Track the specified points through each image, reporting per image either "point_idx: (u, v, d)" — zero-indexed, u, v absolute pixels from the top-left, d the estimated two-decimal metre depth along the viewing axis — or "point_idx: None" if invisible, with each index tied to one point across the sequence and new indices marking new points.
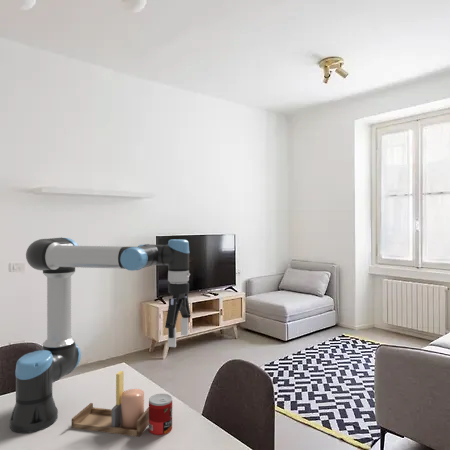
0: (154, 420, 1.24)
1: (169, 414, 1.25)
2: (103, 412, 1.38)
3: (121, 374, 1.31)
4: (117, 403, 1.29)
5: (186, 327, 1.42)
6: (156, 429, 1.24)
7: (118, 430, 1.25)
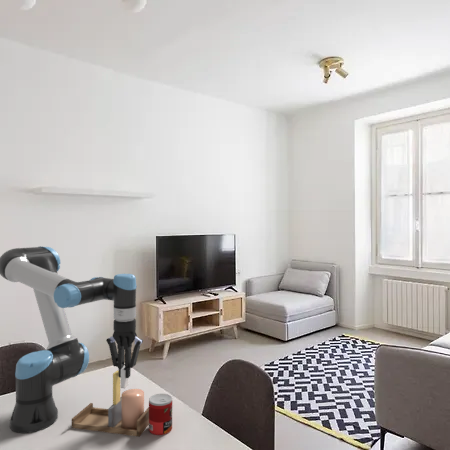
0: (154, 420, 1.24)
1: (169, 414, 1.25)
2: (103, 412, 1.38)
3: None
4: (114, 403, 1.30)
5: None
6: (156, 429, 1.24)
7: (118, 430, 1.25)
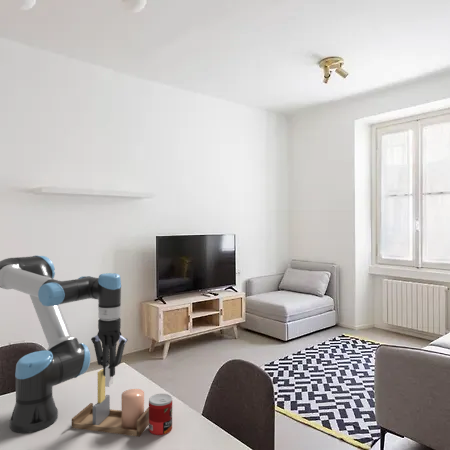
0: (154, 420, 1.24)
1: (169, 414, 1.25)
2: None
3: None
4: (98, 401, 1.31)
5: None
6: (156, 429, 1.24)
7: (118, 430, 1.25)
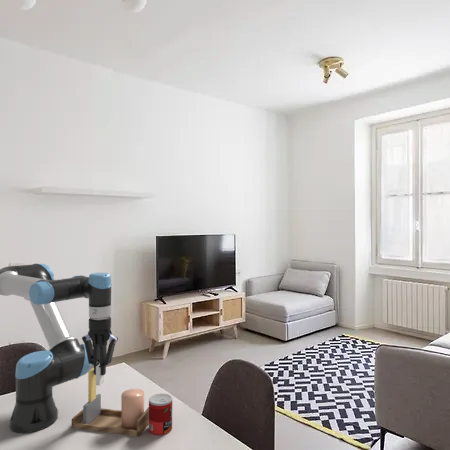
0: (154, 420, 1.24)
1: (169, 414, 1.25)
2: (103, 412, 1.38)
3: (93, 371, 1.33)
4: (89, 400, 1.32)
5: None
6: (156, 429, 1.24)
7: (118, 430, 1.25)
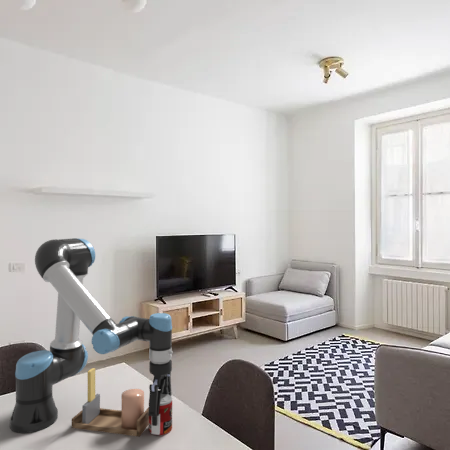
0: None
1: (169, 414, 1.26)
2: (103, 412, 1.38)
3: (93, 371, 1.33)
4: (88, 400, 1.32)
5: None
6: None
7: (118, 430, 1.25)
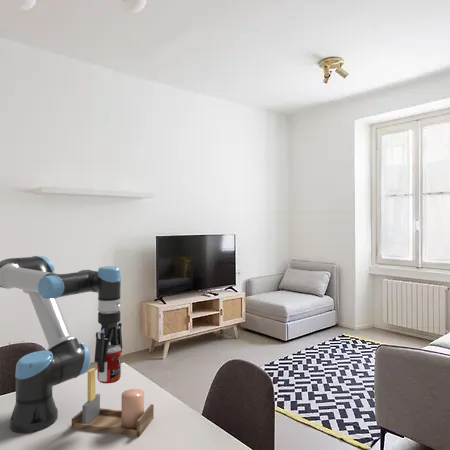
0: None
1: (117, 362, 1.29)
2: (103, 412, 1.38)
3: (93, 371, 1.33)
4: (88, 400, 1.32)
5: None
6: None
7: (118, 430, 1.25)
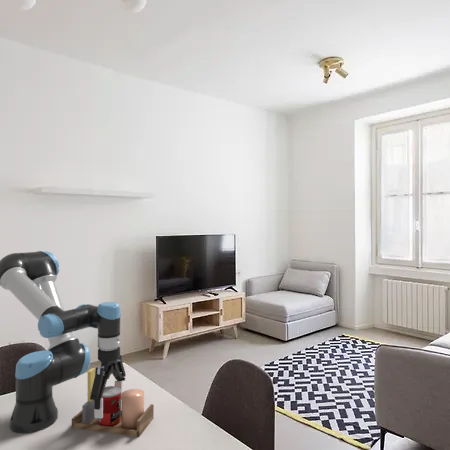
0: None
1: (117, 405, 1.30)
2: None
3: (93, 371, 1.33)
4: (88, 400, 1.32)
5: None
6: (103, 420, 1.28)
7: (118, 430, 1.25)
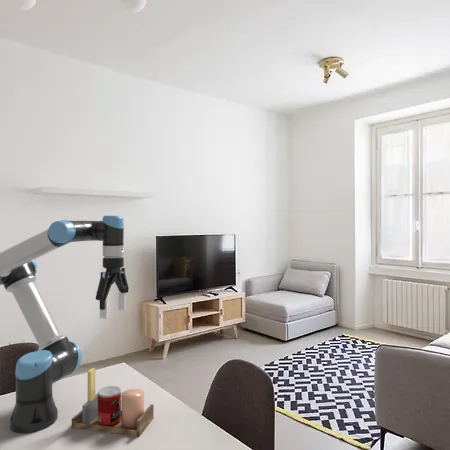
0: (101, 411, 1.29)
1: (117, 405, 1.30)
2: None
3: (93, 371, 1.33)
4: (88, 400, 1.32)
5: (123, 302, 1.46)
6: (103, 420, 1.28)
7: (118, 430, 1.25)
